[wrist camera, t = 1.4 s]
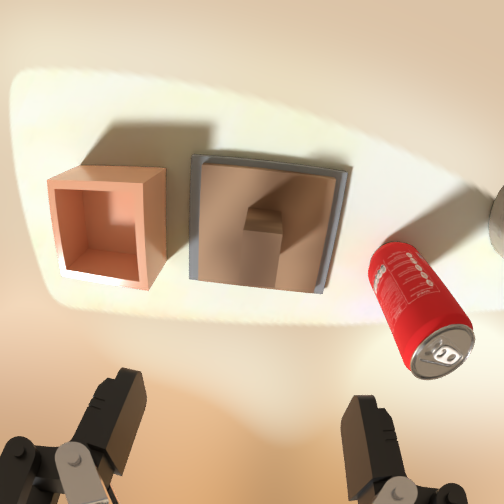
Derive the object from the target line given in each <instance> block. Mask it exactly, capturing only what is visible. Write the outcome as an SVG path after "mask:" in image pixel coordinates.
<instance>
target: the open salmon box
mask: <svg viewBox="0 0 504 504" xmlns="http://www.w3.org/2000/svg"><path fill="white" fill-rule="evenodd" d="M47 186H48V196H49V205H50V213H51V220H52V227H53V233H54V239H55V245H56V251H57V256H58V261H59V266H60V271H61V276H65V277H71V278H76V279H82V280H87V281H93V282H98V283H104V284H110V285H116V286H122V287H128V288H134V289H141V290H147V291H149V289H150V287H151V286H152V284H153V282H154V281H155V279H156V278H157V276H158V274H159V273H160V271H161V269H162V268H163V266H164V265H165V263H166V261H167V252H166V168H158V167H136V166H96V165H79V166H77V167H75V168H72V169H70V170H68V171H65V172H63V173H61V174H59V175H57V176H54V177H52V178H50V179H48V180H47Z"/></svg>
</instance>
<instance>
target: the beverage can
mask: <svg viewBox="0 0 504 504" xmlns="http://www.w3.org/2000/svg"><path fill="white" fill-rule="evenodd" d="M368 277H369V281H370V284H371V286H372V288H373V290H374V293H375V295H376V297H377V299H378V302H379V304H380V306H381V308H382V311H383V313H384V315H385V318H386V320H387V322H388V325H389V327H390V329H391V332H392V334H393V336H394V339H395V341H396V344H397V346H398V349H399V351H400V354H401V357H402V359H403V362H404V364H405V366H406V367H407V368H408V369H409V370H410V371H411V372H412V373H413V375H414V376H415V377H417V378H419V379H422V380H433V379H438V378H441V377H443V376H446V375H448V374H449V373H451V372H453V371H454V370H456V369H457V368H458V367H459V366H460V365H462V364H463V362H464V361H465V360H466V359H467V358H468V356H469V355H470V353H471V351H472V349H473V347H474V343H475V336H474V332H473V326H472V323H471V321H470V319H469V318H468V316H467V315H466V314H465V312H464V311H463V309H462V308H461V307H460V305H459V304H458V302H457V301H456V300H455V298H454V297H453V296H452V294H451V293H450V291H449V290H448V289H447V287H446V286H445V285H444V283H443V282H442V281H441V280H440V278H439V277H438V276H437V274H436V273H435V272H434V271H433V269H432V268H431V267H430V265H429V264H428V263H427V262H426V260H425V259H424V258H423V257H422V256H421V254H420V253H419V252H418V251H417V250H416V248H414V247H413V246H411V245H409V244H407V243H402V242H389V243H386V244H384V245H382V246H381V247H379V248H378V249H377V250H376V251H375V253H374V254H373V256H372V258H371V260H370V265H369V270H368Z"/></svg>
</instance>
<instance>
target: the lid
mask: <svg viewBox="0 0 504 504" xmlns="http://www.w3.org/2000/svg"><path fill="white" fill-rule="evenodd" d="M335 184H336V179H335V178H334V177H329V176H322V175H315V174H308V173H300V172H293V171H285V170H276V169H267V168H258V167H249V166H238V165H227V164H215V163H203V164H202V169H201V191H200V217H199V258H198V280H199V281H207V282H215V283H223V284H232V285H240V286H249V287H258V288H267V289H276V290H286V291H295V292H305V293H314V289H315V285H316V280H317V276H318V271H319V267H320V262H321V257H322V252H323V248H324V243H325V238H326V233H327V227H328V222H329V217H330V212H331V206H332V201H333V195H334V189H335Z"/></svg>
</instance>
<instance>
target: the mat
mask: <svg viewBox="0 0 504 504" xmlns="http://www.w3.org/2000/svg"><path fill="white" fill-rule="evenodd" d="M203 163H215V164H227V165H238V166H249V167H258V168H267V169H276V170H285V171H293V172H300V173H308V174H315V175H322V176H329V177H334V178H335V179H336V184H335V189H334V195H333V201H332V206H331V212H330V217H329V222H328V227H327V233H326V238H325V243H324V248H323V252H322V257H321V262H320V267H319V271H318V276H317V280H316V285H315V289H314V293H316V294H323V290H324V286H325V282H326V277H327V273H328V269H329V264H330V260H331V256H332V251H333V246H334V242H335V237H336V232H337V227H338V223H339V218H340V212H341V207H342V202H343V197H344V191H345V186H346V180H347V175H348V173H347V172H346V171H340V170H334V169H328V168H321V167H314V166H307V165H299V164H292V163H284V162H275V161H266V160H257V159H247V158H236V157H224V156H212V155H197V154H193V155H192V158H191V183H190V220H189V279H192V280H198V258H199V217H200V191H201V169H202V164H203Z"/></svg>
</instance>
